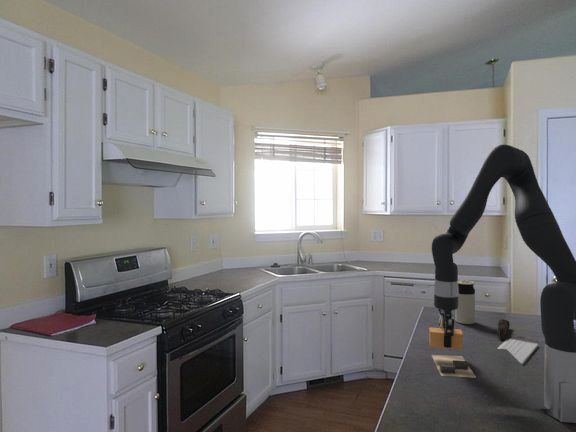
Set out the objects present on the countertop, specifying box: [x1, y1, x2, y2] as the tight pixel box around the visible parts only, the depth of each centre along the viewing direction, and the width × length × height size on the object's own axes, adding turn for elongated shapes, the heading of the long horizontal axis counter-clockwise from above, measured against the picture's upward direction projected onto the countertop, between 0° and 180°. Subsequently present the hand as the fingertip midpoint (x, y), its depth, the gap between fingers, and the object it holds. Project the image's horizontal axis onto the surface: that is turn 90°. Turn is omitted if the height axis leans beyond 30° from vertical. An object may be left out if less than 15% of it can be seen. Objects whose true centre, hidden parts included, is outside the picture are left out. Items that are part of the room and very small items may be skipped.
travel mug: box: [454, 279, 476, 325], centre depth 184 cm, size 8×8×18 cm
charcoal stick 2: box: [453, 360, 469, 370], centre depth 130 cm, size 2×4×2 cm, turn 80°
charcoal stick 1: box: [440, 364, 455, 374], centre depth 127 cm, size 2×4×2 cm, turn 80°
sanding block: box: [428, 327, 464, 350], centre depth 138 cm, size 5×10×5 cm, turn 74°
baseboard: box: [496, 335, 539, 366], centre depth 145 cm, size 31×3×12 cm
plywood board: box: [431, 354, 477, 379], centre depth 132 cm, size 17×10×2 cm, turn 170°
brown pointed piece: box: [497, 319, 511, 341], centre depth 168 cm, size 19×4×5 cm, turn 146°
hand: (445, 343), depth 138 cm, fingers closed on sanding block, 5 cm apart
